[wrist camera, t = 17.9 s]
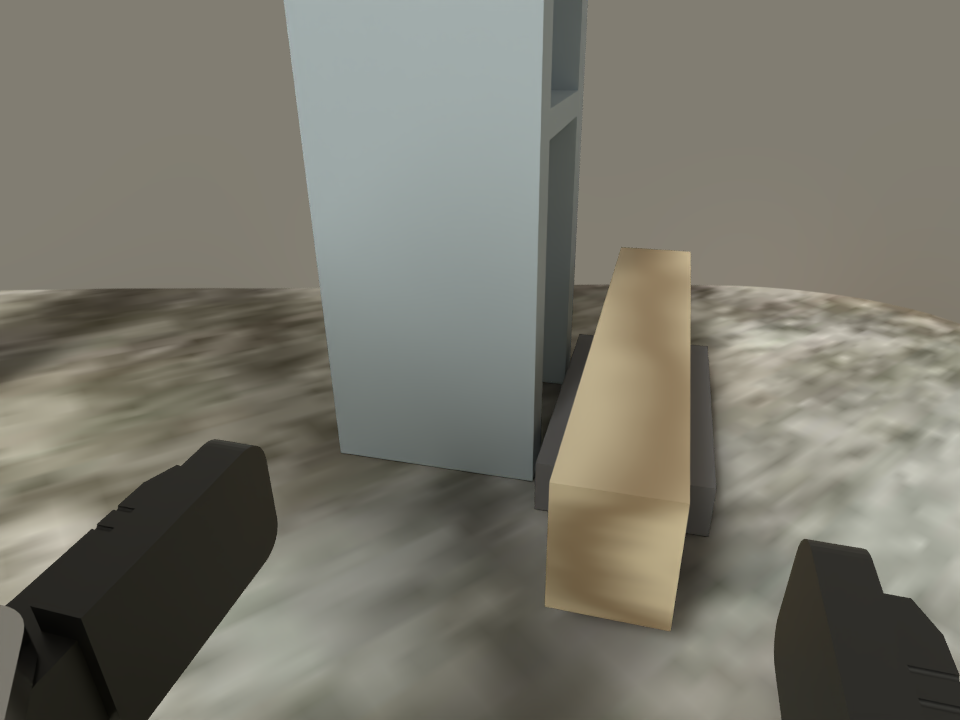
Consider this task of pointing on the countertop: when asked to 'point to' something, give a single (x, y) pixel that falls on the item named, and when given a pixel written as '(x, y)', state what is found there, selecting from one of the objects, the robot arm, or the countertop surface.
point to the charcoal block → (699, 435)
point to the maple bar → (627, 452)
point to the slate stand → (443, 217)
